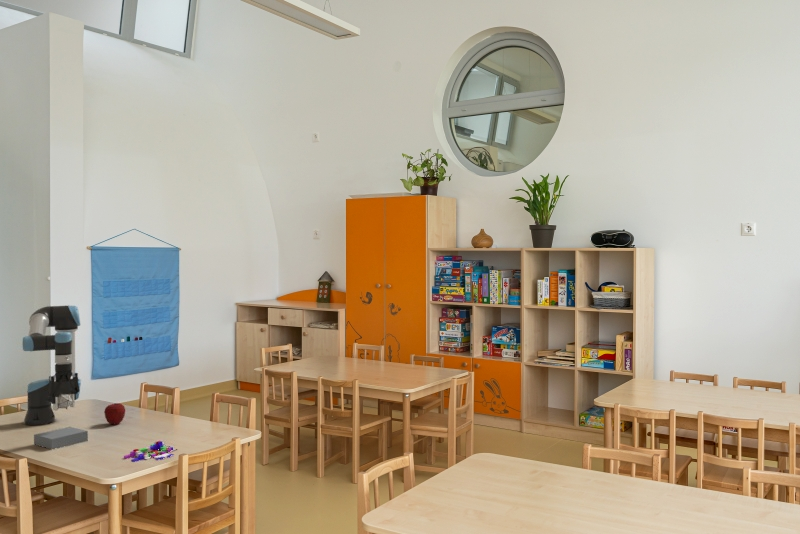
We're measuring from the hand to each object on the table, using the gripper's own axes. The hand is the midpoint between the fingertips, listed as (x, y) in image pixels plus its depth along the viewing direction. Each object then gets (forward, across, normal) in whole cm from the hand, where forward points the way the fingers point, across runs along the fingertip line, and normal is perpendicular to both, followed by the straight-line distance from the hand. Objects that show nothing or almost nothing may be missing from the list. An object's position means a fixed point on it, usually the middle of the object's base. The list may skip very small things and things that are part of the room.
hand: (63, 408), depth 326 cm
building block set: (+17, +10, -59) cm, 62 cm away
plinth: (+16, -3, -3) cm, 17 cm away
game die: (+1, 0, 0) cm, 1 cm away
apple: (+16, +34, +9) cm, 38 cm away
